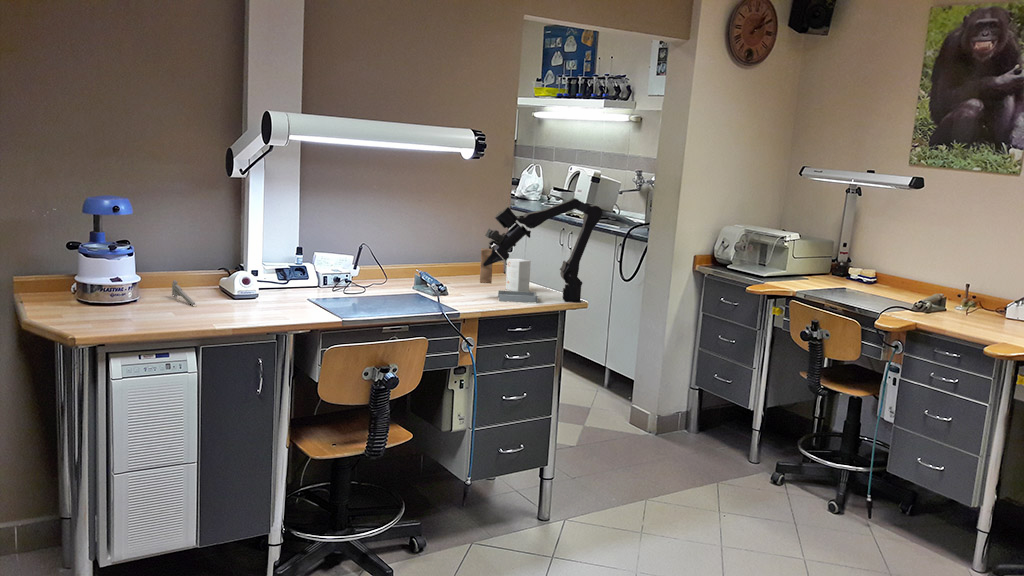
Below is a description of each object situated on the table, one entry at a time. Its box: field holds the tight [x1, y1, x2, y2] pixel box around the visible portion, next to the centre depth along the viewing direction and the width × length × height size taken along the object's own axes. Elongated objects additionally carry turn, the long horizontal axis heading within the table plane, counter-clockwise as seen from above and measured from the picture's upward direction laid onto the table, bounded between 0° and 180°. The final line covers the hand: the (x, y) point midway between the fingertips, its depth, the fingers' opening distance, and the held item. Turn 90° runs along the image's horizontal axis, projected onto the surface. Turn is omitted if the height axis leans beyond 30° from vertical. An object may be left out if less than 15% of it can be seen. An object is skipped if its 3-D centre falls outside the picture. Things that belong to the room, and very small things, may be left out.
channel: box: [497, 289, 539, 303], centre depth 328 cm, size 15×10×2 cm, turn 93°
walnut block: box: [479, 248, 493, 284], centre depth 326 cm, size 4×4×13 cm
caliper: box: [171, 279, 197, 306], centre depth 291 cm, size 20×1×6 cm, turn 42°
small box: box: [505, 258, 531, 292], centre depth 347 cm, size 8×6×13 cm
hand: (482, 264), depth 325 cm, fingers closed on walnut block, 5 cm apart
